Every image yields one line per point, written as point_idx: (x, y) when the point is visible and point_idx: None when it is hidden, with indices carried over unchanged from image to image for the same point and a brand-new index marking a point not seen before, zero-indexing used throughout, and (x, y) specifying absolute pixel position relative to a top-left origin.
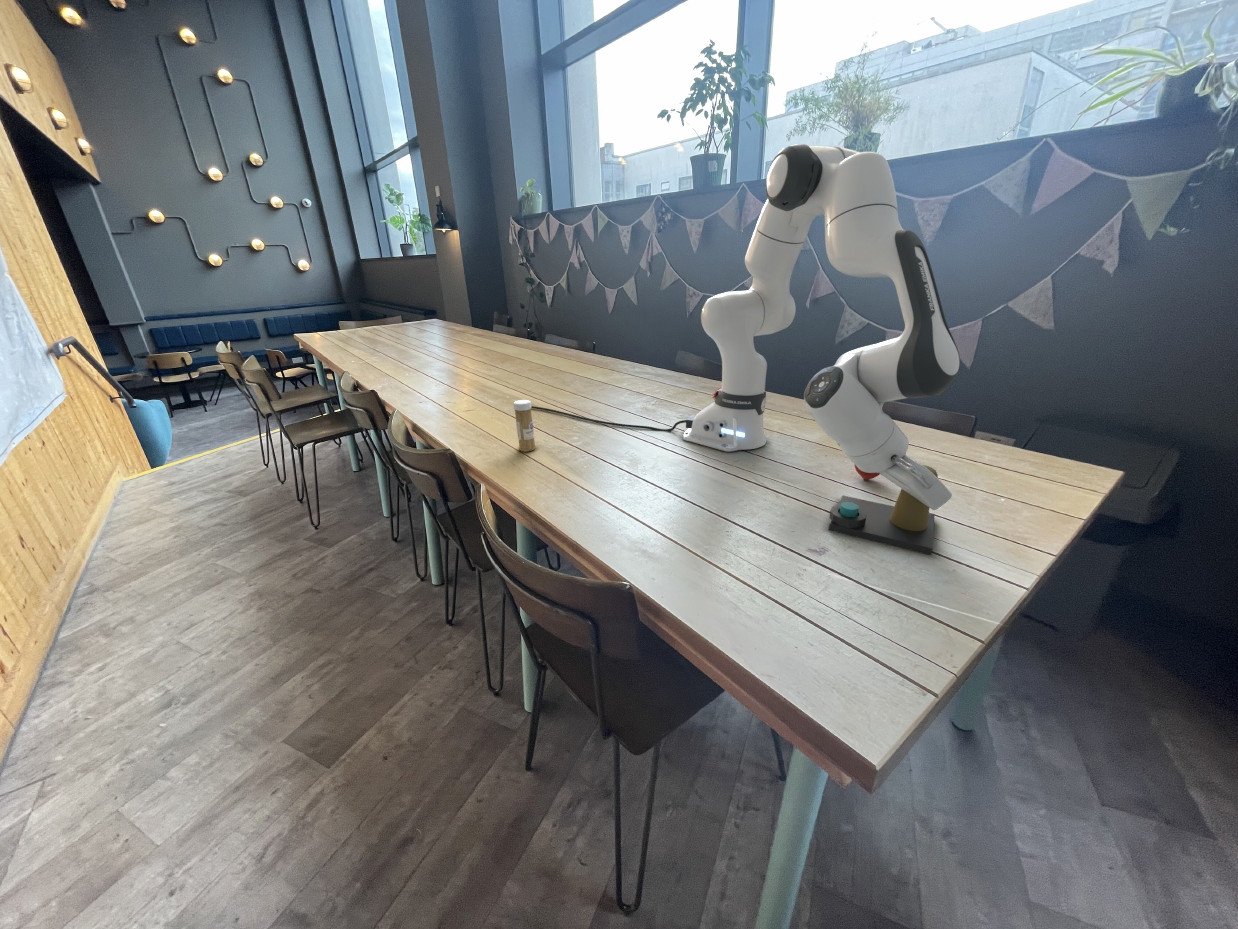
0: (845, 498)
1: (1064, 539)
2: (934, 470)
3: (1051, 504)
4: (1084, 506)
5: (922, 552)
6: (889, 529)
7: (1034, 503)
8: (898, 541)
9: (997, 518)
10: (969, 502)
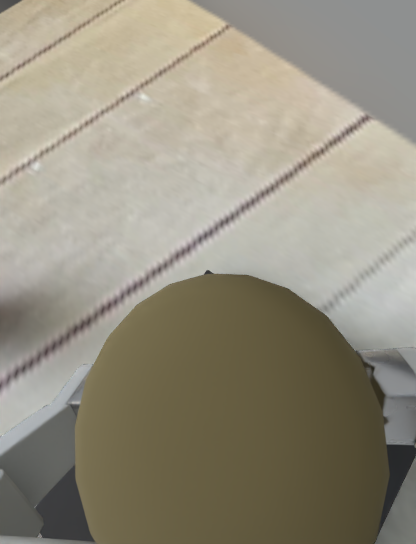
0: (52, 521)
1: (302, 73)
2: (273, 309)
3: (175, 41)
4: (189, 8)
5: None
6: None
7: (167, 60)
8: (385, 515)
9: (213, 137)
10: (141, 153)
